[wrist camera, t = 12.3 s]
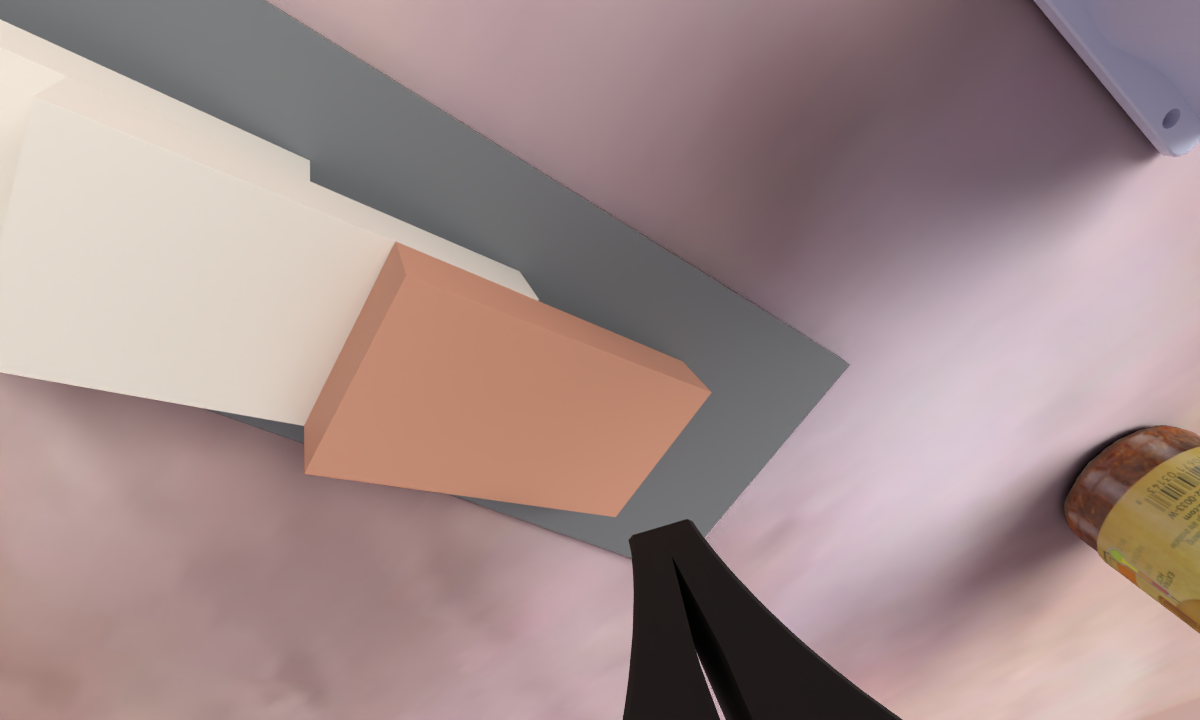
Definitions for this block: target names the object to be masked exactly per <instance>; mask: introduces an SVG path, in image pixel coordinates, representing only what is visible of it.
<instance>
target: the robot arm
mask: <svg viewBox="0 0 1200 720" xmlns="http://www.w3.org/2000/svg"><path fill="white" fill-rule="evenodd" d="M1034 2H1035V3H1036V4H1037V5H1038V6H1039V8H1040V9H1041V10H1042V11H1043V13H1044V14H1045V15H1046V16H1047V17H1048V19H1049V20H1050V21H1051V22H1052V23H1053V25H1054V26H1055V27H1056V28H1057V29H1058V31H1059V32H1060V33H1061V34H1062V35H1063V37H1064V38H1065V39H1066V40H1067V41H1068V43H1069V44H1070V45H1071V46H1072V48H1073V49H1074V50H1075V51H1076V52H1077V54H1078V55H1079V56H1080V57H1081V58H1082V60H1083V61H1084V62H1085V63H1086V64H1087V66H1088V67H1089V68H1090V69H1091V70H1092V72H1093V73H1094V74H1095V75H1096V76H1097V78H1098V79H1099V80H1100V81H1101V83H1102V84H1103V85H1104V86H1105V87H1106V89H1107V90H1108V91H1109V92H1110V93H1111V95H1112V96H1113V97H1114V98H1115V99H1116V101H1117V102H1118V103H1119V104H1120V105H1121V107H1122V108H1123V109H1124V110H1125V112H1126V113H1127V114H1128V115H1129V116H1130V118H1131V119H1132V120H1133V121H1134V122H1135V124H1136V125H1137V126H1138V127H1139V128H1140V130H1141V131H1142V132H1143V133H1144V134H1145V136H1146V137H1147V138H1148V139H1149V140H1150V142H1151V143H1152V144H1153V145H1154V147H1155V148H1156V149H1157V150H1158V151H1159V153H1161V154H1163V155H1166V156H1182V155H1184V154H1186V153H1187V152H1189V151H1190V150H1191V149H1192V148H1194V146H1195V145H1196V144H1197V143H1198V142H1199V141H1200V0H1034ZM628 541H629V545H630V549H631V556H632V564H633V581H634V609H633V636H632V648H631V659H630V670H629V679H628V687H627V695H626V702H625V709H624V715H623V720H720V718H719V716H718V713H717V710H716V707H715V705H714V702H713V699H712V697H711V694H710V691H709V688H708V686H707V683H706V680H705V677H704V675H703V672H702V669H701V666H700V663H699V660H698V657H699V659H700V661H701V663H702V666H703V668H704V670H705V673H706V675H707V677H708V680H709V682H710V684H711V686H712V689H713V691H714V693H715V696H716V698H717V700H718V703H719V705H720V707H721V709H722V712H723V714H724V716H725V719H726V720H902V719H901V718H899V717H898V716H897V715H895V714H894V713H892V712H891V711H890V710H888V709H887V708H885V707H884V706H883V705H881V704H880V703H879V702H877V701H876V700H874V699H873V698H872V697H870V696H869V695H867V694H866V693H865V692H863V691H862V690H861V689H859V688H858V687H857V686H856V685H854V684H853V683H852V682H851V681H849V680H848V679H847V678H846V677H844V676H843V675H842V674H840V673H839V672H838V671H837V670H835V669H834V668H833V667H832V666H831V665H829V664H828V663H827V662H826V661H825V660H823V659H822V658H821V657H820V656H819V655H817V654H816V653H815V652H814V651H813V650H811V649H810V648H809V647H808V646H807V645H806V644H805V643H804V642H802V641H801V640H800V639H799V638H798V637H797V636H796V635H795V634H793V633H792V632H791V631H790V630H789V629H788V628H787V627H786V626H785V625H784V624H783V623H782V622H781V621H780V620H779V619H777V618H776V617H775V616H774V615H773V614H772V613H771V612H770V611H769V610H768V609H767V608H766V607H765V606H764V605H763V604H762V603H761V602H760V601H759V600H758V599H757V598H756V597H755V596H754V595H753V594H752V593H751V592H750V590H749V589H748V588H747V587H746V586H745V585H744V584H743V583H742V582H741V581H740V580H739V579H738V578H737V577H736V576H735V574H734V573H733V572H732V571H731V570H730V569H729V568H728V567H727V565H726V564H725V563H724V562H723V561H722V560H721V558H720V557H719V556H718V555H717V554H716V552H715V551H714V550H713V549H712V547H711V546H710V545H709V544H708V542H707V541H706V540H705V538H704V537H703V536H702V534H701V533H700V531H699V530H698V529H697V527H696V526H695V524H694V522H693V521H691V520H689V519H685V520H682V521H678V522H675V523H672V524H668V525H665V526H661V527H658V528H655V529H651V530H648V531H645V532H641V533H638V534H634V535H632V536H631V538H630V539H629V540H628ZM696 652H697V653H696ZM697 654H698V657H697Z"/></svg>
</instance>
